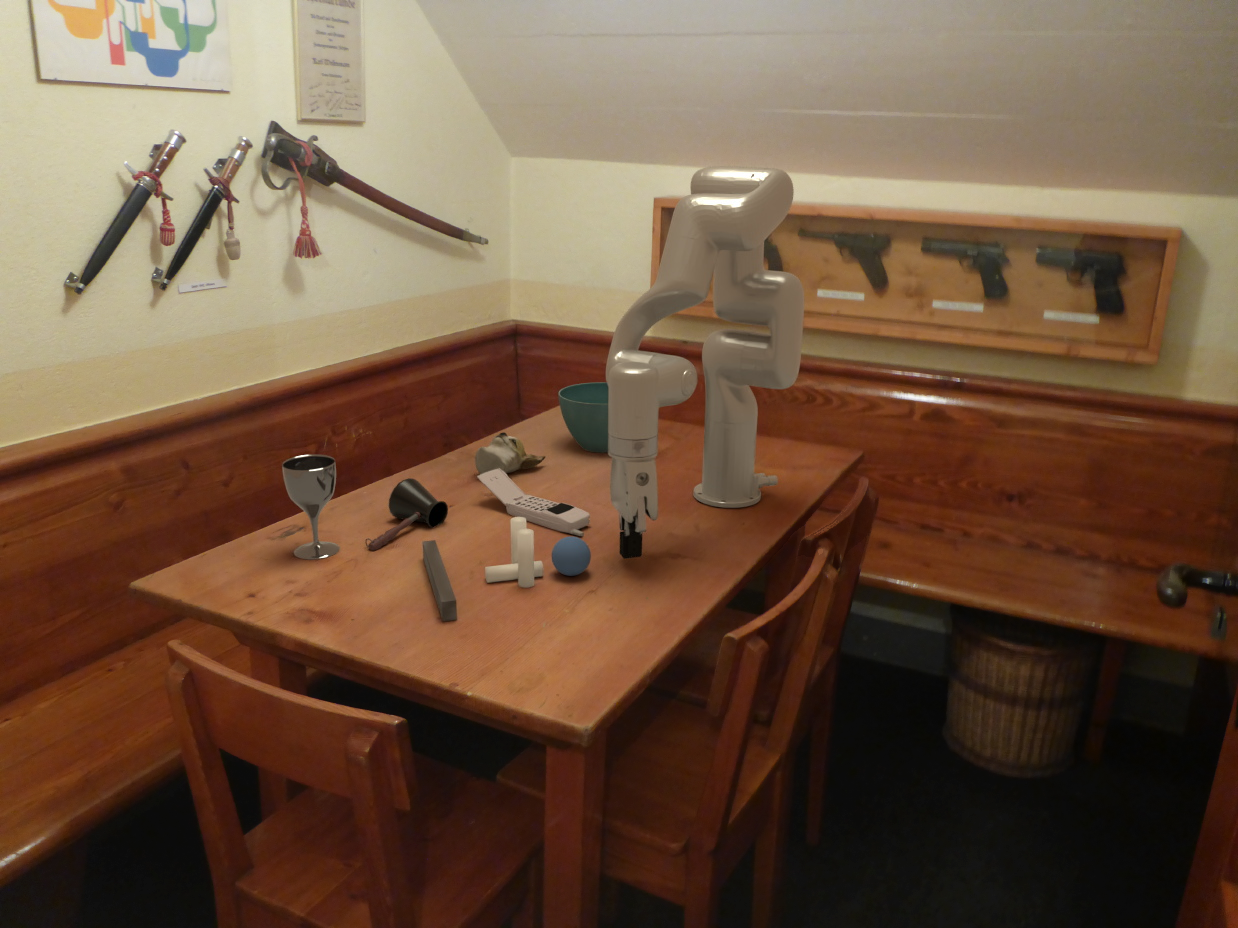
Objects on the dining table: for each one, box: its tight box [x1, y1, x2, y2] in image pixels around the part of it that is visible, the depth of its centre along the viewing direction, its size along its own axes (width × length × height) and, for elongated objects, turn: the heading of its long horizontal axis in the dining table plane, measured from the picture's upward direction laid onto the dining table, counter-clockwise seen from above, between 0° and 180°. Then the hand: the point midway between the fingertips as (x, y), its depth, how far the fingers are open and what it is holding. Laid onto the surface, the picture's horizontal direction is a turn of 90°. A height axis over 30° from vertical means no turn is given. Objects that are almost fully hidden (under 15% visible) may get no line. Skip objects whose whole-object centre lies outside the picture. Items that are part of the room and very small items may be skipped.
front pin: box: [484, 560, 544, 584], centre depth 148 cm, size 2×2×8 cm
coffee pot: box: [365, 477, 449, 552], centre depth 166 cm, size 8×18×8 cm
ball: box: [551, 536, 592, 577], centre depth 149 cm, size 6×6×6 cm
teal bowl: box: [558, 381, 609, 454], centre depth 210 cm, size 18×18×12 cm
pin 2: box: [517, 528, 535, 589], centre depth 145 cm, size 2×2×8 cm
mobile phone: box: [476, 468, 591, 537], centre depth 172 cm, size 6×6×25 cm
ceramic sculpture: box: [474, 432, 546, 475], centre depth 194 cm, size 11×9×15 cm
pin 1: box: [509, 516, 527, 564], centre depth 150 cm, size 2×2×8 cm
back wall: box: [422, 539, 458, 623], centre depth 145 cm, size 2×22×3 cm, turn 18°
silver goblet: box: [281, 454, 341, 561], centre depth 155 cm, size 8×8×15 cm
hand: (630, 555), depth 154 cm, fingers closed
